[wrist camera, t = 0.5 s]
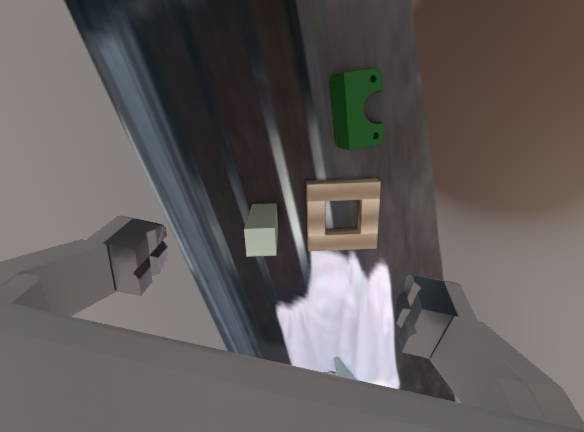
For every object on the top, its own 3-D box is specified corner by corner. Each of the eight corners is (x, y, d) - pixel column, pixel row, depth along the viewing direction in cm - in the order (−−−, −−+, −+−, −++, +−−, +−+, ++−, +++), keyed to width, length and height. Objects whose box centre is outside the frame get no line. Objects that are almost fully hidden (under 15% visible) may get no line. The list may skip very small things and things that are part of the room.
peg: (252, 204, 58) (244, 229, 47) (276, 203, 58) (274, 227, 47) (253, 227, 60) (246, 256, 48) (277, 226, 60) (276, 255, 48)
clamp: (357, 128, 58) (382, 153, 52) (327, 133, 57) (348, 159, 51) (366, 58, 50) (397, 77, 44) (331, 62, 49) (357, 82, 42)
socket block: (306, 180, 57) (307, 184, 54) (375, 177, 57) (380, 181, 54) (307, 244, 61) (308, 251, 58) (372, 241, 61) (376, 248, 58)
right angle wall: (337, 354, 71) (342, 382, 64) (363, 387, 75) (371, 417, 68) (292, 378, 73) (293, 408, 66) (320, 409, 77) (324, 440, 70)
